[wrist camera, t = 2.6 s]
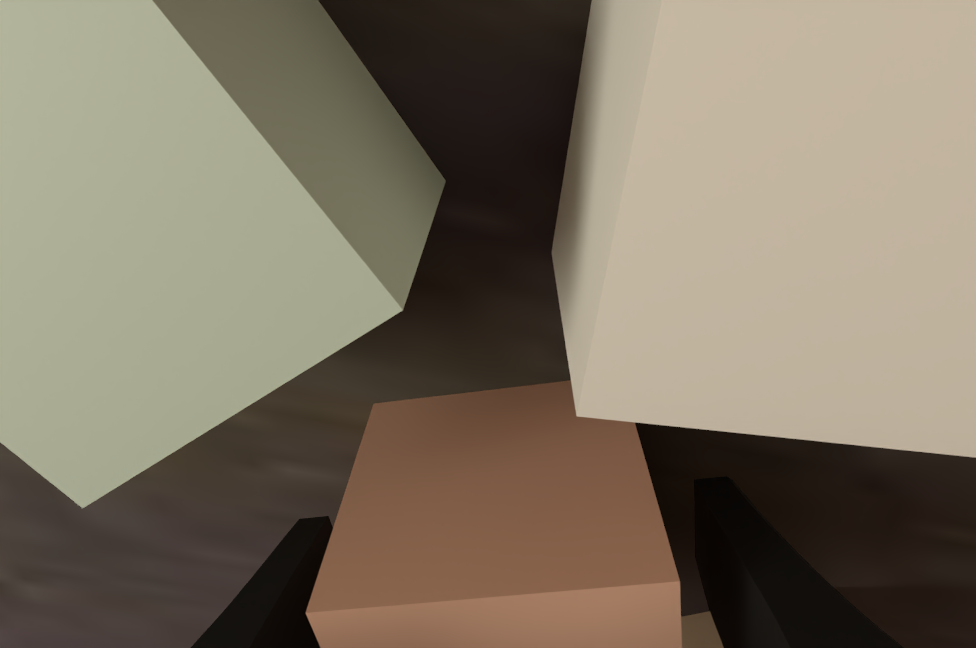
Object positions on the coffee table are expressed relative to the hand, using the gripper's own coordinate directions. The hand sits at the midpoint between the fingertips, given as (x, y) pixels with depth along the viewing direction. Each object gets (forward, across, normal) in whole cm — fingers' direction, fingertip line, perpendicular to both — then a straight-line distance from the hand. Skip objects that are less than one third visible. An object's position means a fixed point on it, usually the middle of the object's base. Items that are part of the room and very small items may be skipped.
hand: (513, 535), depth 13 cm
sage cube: (+2, +4, -8) cm, 9 cm away
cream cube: (+2, -4, -7) cm, 8 cm away
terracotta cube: (+2, 0, 0) cm, 2 cm away
